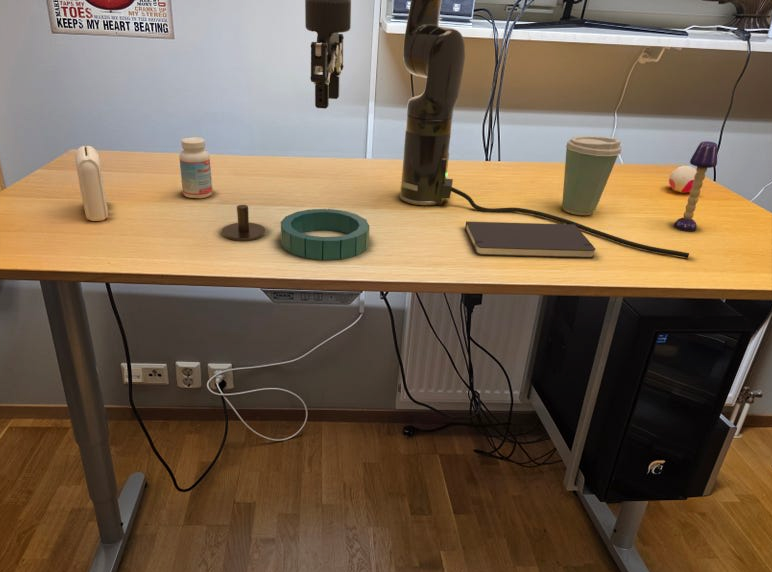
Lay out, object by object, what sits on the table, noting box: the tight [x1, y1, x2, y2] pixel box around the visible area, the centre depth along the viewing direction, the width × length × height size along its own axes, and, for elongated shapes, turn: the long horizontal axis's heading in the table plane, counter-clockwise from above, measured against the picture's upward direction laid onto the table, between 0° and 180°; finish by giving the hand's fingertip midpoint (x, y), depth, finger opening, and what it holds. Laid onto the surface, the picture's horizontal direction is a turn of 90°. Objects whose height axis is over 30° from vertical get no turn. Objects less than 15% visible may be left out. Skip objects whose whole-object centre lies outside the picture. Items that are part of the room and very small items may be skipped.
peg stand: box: [221, 204, 267, 242], centre depth 119 cm, size 8×8×5 cm
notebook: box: [464, 221, 596, 259], centre depth 121 cm, size 13×2×21 cm
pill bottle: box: [178, 136, 213, 199], centre depth 135 cm, size 6×6×11 cm
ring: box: [279, 208, 370, 261], centre depth 117 cm, size 16×16×4 cm
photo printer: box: [74, 145, 109, 222], centre depth 123 cm, size 10×4×12 cm, turn 20°
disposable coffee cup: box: [561, 135, 622, 216], centre depth 134 cm, size 11×11×15 cm
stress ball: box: [668, 165, 697, 194], centre depth 151 cm, size 8×8×7 cm
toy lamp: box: [673, 140, 718, 232], centre depth 127 cm, size 5×5×17 cm
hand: (327, 102), depth 115 cm, fingers open, 8 cm apart
